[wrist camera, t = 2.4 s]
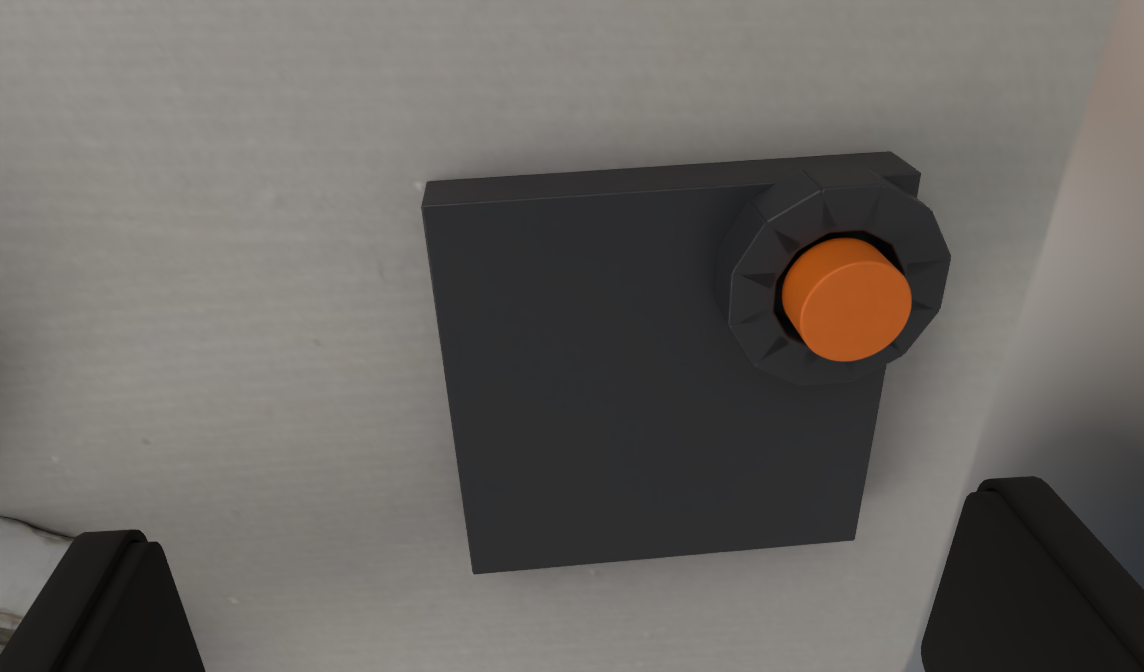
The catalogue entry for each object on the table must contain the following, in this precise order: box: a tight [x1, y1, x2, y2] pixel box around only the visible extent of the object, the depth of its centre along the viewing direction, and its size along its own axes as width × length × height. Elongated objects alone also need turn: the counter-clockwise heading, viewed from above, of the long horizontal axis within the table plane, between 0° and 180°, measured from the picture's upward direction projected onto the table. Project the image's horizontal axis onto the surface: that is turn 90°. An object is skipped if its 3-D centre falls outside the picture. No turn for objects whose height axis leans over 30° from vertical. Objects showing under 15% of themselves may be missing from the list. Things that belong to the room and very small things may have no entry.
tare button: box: [782, 238, 912, 362], centre depth 20 cm, size 3×3×2 cm
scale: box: [421, 152, 951, 574], centre depth 24 cm, size 13×13×4 cm
